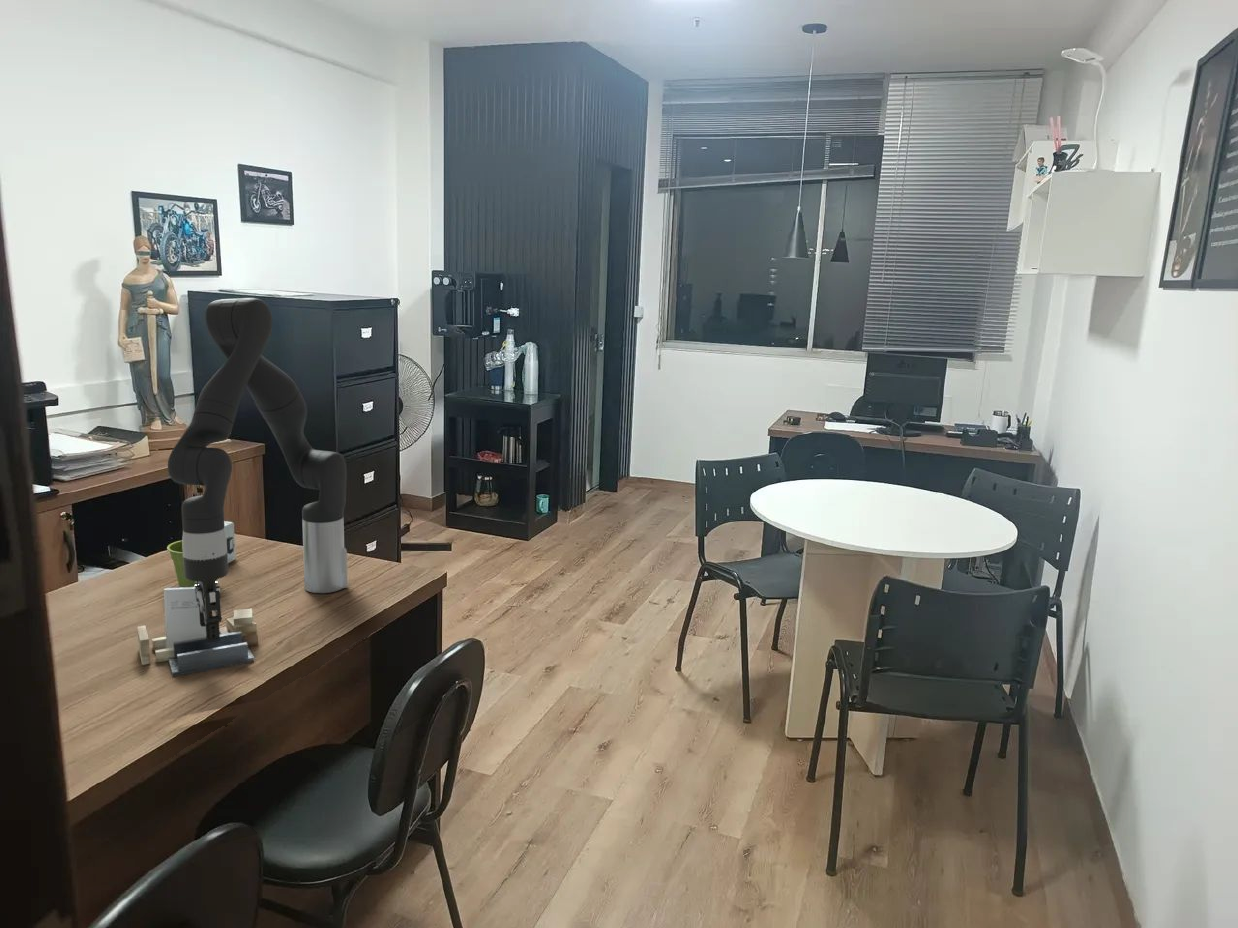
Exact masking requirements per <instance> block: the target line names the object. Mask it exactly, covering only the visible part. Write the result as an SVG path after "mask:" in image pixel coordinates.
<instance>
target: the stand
mask: <svg viewBox="0 0 1238 928" xmlns="http://www.w3.org/2000/svg"><path fill="white" fill-rule="evenodd" d="M173 646H174V657H171V658H168V665H169V668H170V672H171V675H172V677H178V676H184V675H190V674H195V673H200V672H205V671H210V670H215V669H220V668H221V669H222V668H227V667H232V666H236V665H237V666H238V665H242V664H249V663H253V662H255V657H254V655H253V653H252V652H251V649H250V648H249V647H250V646H248V645H247V642H244V643H242V632H241V631H239V632H233V633H227V634H221V635H220V639H219V640H218V641H215V642H207V639H206V637H203V638H197V639H191V640H185V641H179V642H173Z"/></svg>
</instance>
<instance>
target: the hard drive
mask: <svg viewBox="0 0 1238 928" xmlns="http://www.w3.org/2000/svg"><path fill="white" fill-rule="evenodd" d="M163 600H164V601H163V602H164V603H163V604H164V623H165V624H164V626H165V637H166V648H172V647H174V646H173V642H179V641H185V640H191V639H197V638H203V637H206V626H204V627H202V626H201V625H200V615H199V608H200V607H198V606H197V603H198V602H197V601H196V597H195V588H194V587H179V586H178V587H165V588H164V589H163ZM166 648H165V649H166Z"/></svg>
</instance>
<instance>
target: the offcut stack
mask: <svg viewBox="0 0 1238 928" xmlns="http://www.w3.org/2000/svg"><path fill="white" fill-rule="evenodd" d="M226 628H227V630H228V633H233V632H239V631H241V632H242V643H244V642H247V645H248V647H250V646H256V645H259V634H258V633H257V632H258V629H257V628H258V627H257V623H256V622H255V621H254V620H253V607H251V608H243V609H234V610H233V617H228V618H226Z"/></svg>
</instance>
